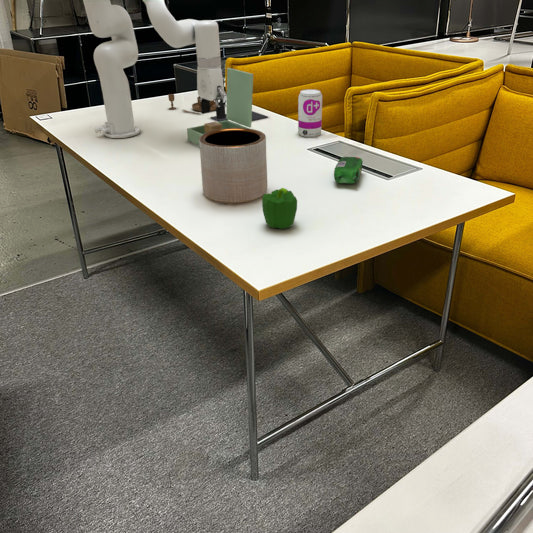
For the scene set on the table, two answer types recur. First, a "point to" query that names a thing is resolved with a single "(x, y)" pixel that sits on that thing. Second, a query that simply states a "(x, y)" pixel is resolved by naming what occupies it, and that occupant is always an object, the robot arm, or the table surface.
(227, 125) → the lunchbox
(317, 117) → the supplement can
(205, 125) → the block
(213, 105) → the place setting
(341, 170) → the snack package
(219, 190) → the planter
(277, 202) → the bell pepper
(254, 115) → the mat
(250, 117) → the lid
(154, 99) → the table surface
